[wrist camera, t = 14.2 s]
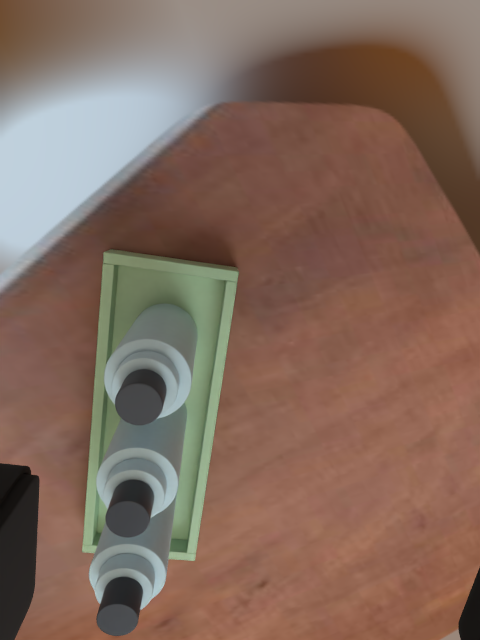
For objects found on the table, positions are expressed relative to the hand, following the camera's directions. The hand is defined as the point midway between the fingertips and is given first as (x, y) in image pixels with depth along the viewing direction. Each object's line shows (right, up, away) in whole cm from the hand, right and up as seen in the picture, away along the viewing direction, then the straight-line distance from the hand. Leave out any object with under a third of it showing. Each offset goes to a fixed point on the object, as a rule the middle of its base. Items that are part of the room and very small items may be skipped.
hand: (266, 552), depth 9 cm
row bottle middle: (-7, -3, +26) cm, 27 cm away
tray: (-7, -3, +27) cm, 28 cm away
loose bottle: (-6, +4, +24) cm, 26 cm away
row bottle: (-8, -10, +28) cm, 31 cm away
